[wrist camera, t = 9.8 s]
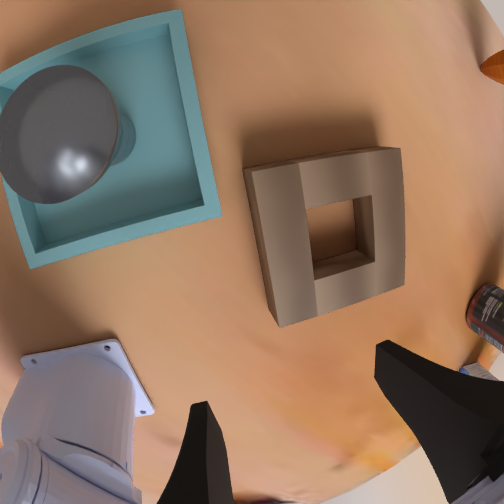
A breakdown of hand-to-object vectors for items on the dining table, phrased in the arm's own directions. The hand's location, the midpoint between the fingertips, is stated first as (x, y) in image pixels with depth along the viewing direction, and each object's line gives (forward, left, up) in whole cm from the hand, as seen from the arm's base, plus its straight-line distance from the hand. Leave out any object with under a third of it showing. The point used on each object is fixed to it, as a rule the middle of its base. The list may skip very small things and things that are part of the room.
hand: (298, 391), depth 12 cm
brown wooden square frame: (+6, +3, -10) cm, 12 cm away
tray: (-7, +12, -10) cm, 17 cm away
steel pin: (-6, +11, -10) cm, 16 cm away
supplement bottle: (+26, -11, -11) cm, 31 cm away
